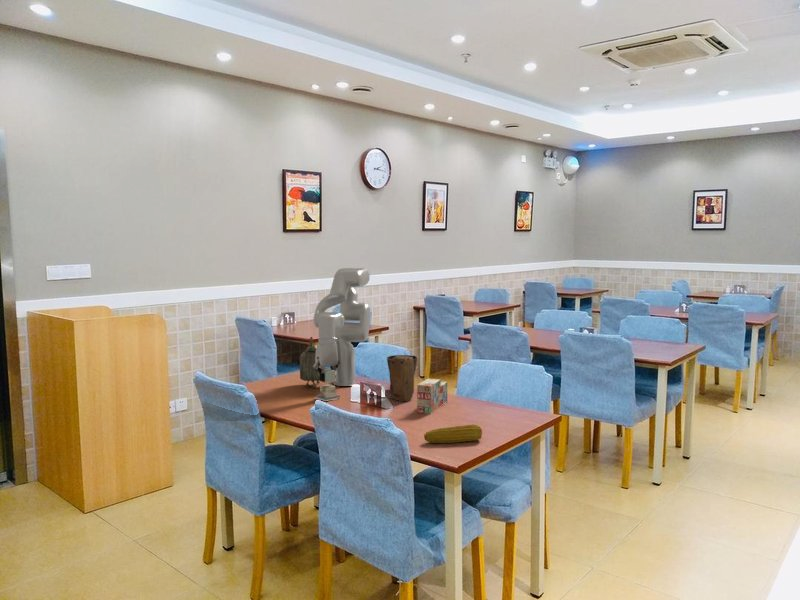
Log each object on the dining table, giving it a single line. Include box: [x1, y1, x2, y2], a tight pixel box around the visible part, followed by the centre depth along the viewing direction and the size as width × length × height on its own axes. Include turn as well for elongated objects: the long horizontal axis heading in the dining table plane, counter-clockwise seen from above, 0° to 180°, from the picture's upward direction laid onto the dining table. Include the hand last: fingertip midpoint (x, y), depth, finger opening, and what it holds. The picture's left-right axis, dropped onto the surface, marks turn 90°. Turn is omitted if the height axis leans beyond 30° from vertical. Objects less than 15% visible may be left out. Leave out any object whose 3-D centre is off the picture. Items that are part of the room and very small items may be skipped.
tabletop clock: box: [299, 336, 322, 390], centre depth 292 cm, size 14×9×25 cm, turn 0°
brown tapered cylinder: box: [389, 354, 415, 402], centre depth 267 cm, size 11×8×20 cm
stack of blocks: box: [416, 378, 448, 415], centre depth 254 cm, size 21×6×12 cm, turn 156°
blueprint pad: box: [314, 393, 341, 402], centre depth 269 cm, size 8×8×2 cm
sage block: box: [320, 368, 336, 384], centre depth 267 cm, size 5×5×5 cm
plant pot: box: [386, 354, 418, 376], centre depth 285 cm, size 15×15×16 cm
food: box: [423, 424, 483, 444], centre depth 208 cm, size 21×6×6 cm, turn 102°
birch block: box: [319, 383, 336, 398], centre depth 268 cm, size 5×5×5 cm
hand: (327, 380), depth 268 cm, fingers closed on sage block, 5 cm apart
